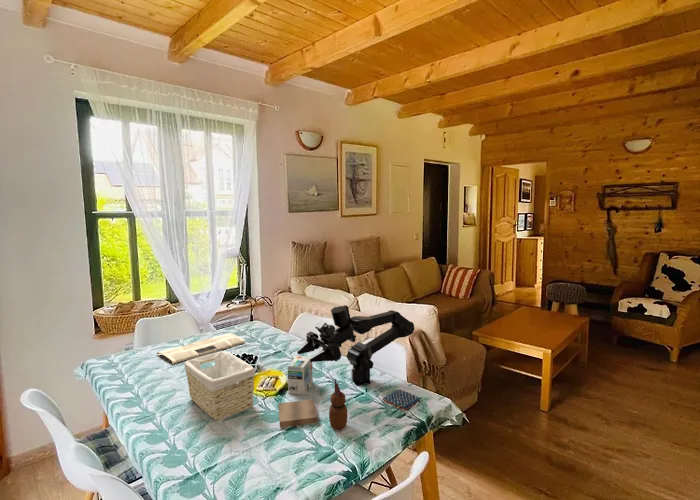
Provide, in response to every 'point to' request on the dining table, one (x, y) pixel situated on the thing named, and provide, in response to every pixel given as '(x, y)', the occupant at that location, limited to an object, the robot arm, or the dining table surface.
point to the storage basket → (221, 384)
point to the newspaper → (202, 347)
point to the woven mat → (401, 399)
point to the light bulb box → (300, 375)
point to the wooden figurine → (338, 410)
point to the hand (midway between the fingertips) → (303, 356)
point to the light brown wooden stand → (297, 413)
